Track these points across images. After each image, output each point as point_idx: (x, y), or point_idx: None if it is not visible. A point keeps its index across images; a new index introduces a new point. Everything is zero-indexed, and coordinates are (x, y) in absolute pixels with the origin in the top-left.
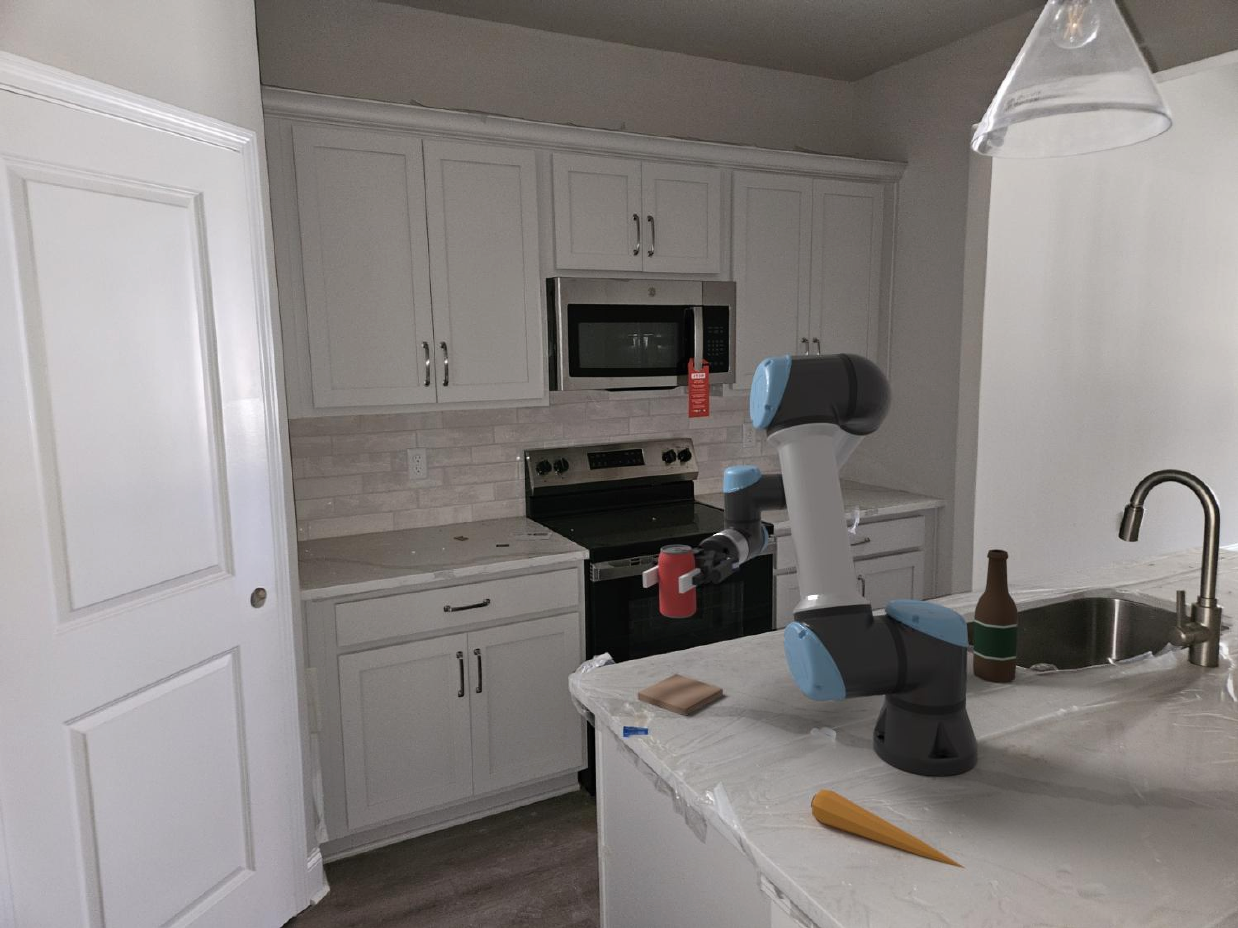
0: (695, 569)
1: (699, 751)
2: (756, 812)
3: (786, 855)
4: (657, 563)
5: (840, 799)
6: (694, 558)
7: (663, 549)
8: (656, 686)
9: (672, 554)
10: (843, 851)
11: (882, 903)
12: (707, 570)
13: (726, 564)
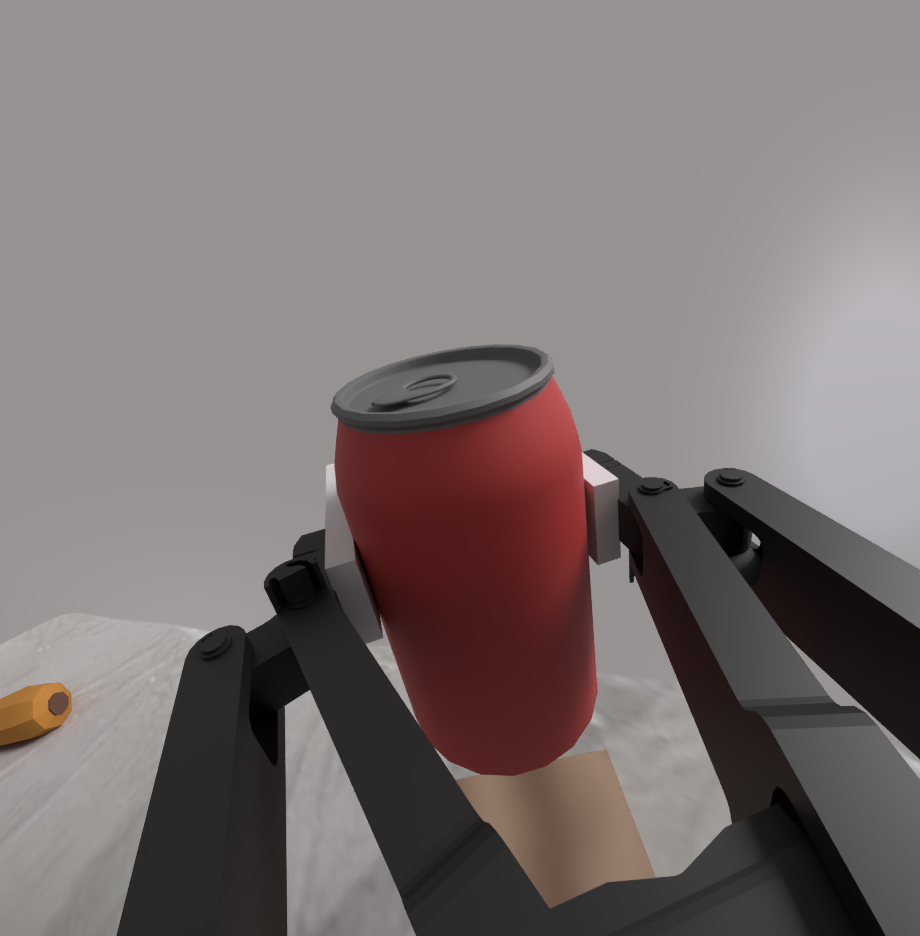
0: (347, 546)
1: (315, 706)
2: (167, 660)
3: (118, 633)
4: (665, 480)
5: (2, 702)
6: (742, 819)
7: (519, 361)
8: (620, 830)
9: (402, 375)
10: (36, 684)
11: (5, 652)
12: (281, 609)
13: (134, 871)
